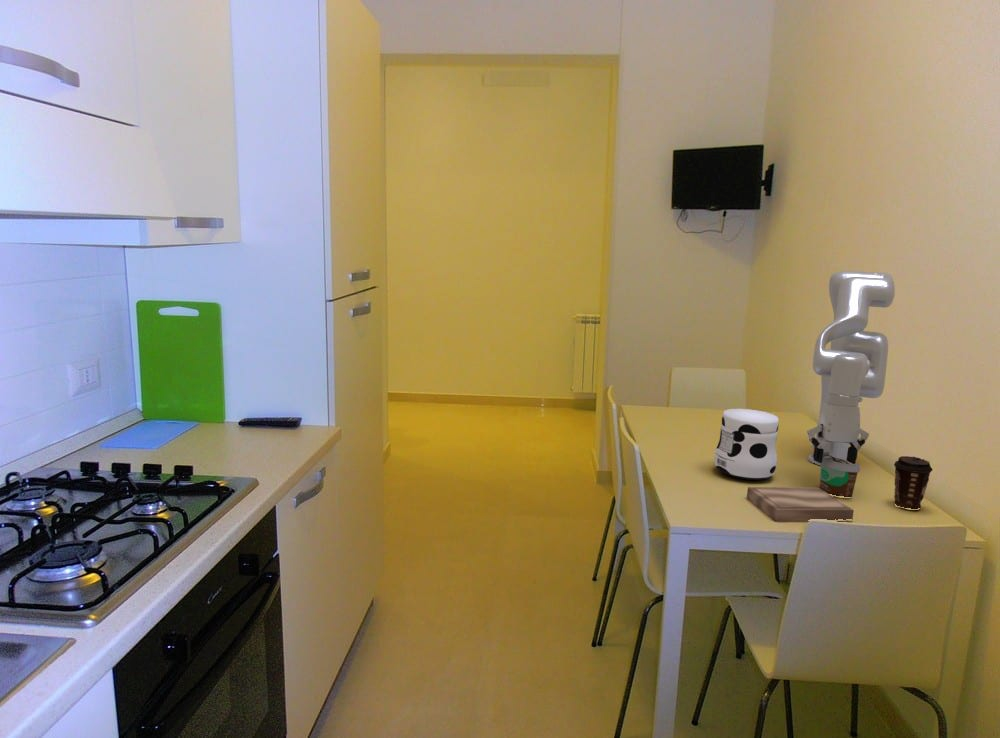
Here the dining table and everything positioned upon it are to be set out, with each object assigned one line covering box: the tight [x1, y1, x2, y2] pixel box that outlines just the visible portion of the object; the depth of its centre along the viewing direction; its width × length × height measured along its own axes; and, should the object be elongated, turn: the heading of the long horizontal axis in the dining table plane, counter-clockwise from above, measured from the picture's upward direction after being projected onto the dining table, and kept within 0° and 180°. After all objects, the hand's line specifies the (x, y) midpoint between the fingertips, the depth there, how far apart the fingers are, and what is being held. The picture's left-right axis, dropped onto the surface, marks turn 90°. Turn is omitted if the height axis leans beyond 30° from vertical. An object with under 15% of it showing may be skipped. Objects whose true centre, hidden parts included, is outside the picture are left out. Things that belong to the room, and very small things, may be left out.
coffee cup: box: [893, 455, 933, 509], centre depth 192 cm, size 9×8×13 cm
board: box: [746, 486, 855, 523], centre depth 187 cm, size 16×20×3 cm
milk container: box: [714, 408, 779, 481], centre depth 211 cm, size 17×17×18 cm
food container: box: [819, 452, 861, 498], centre depth 200 cm, size 12×6×10 cm, turn 17°
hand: (834, 462), depth 198 cm, fingers open, 9 cm apart
